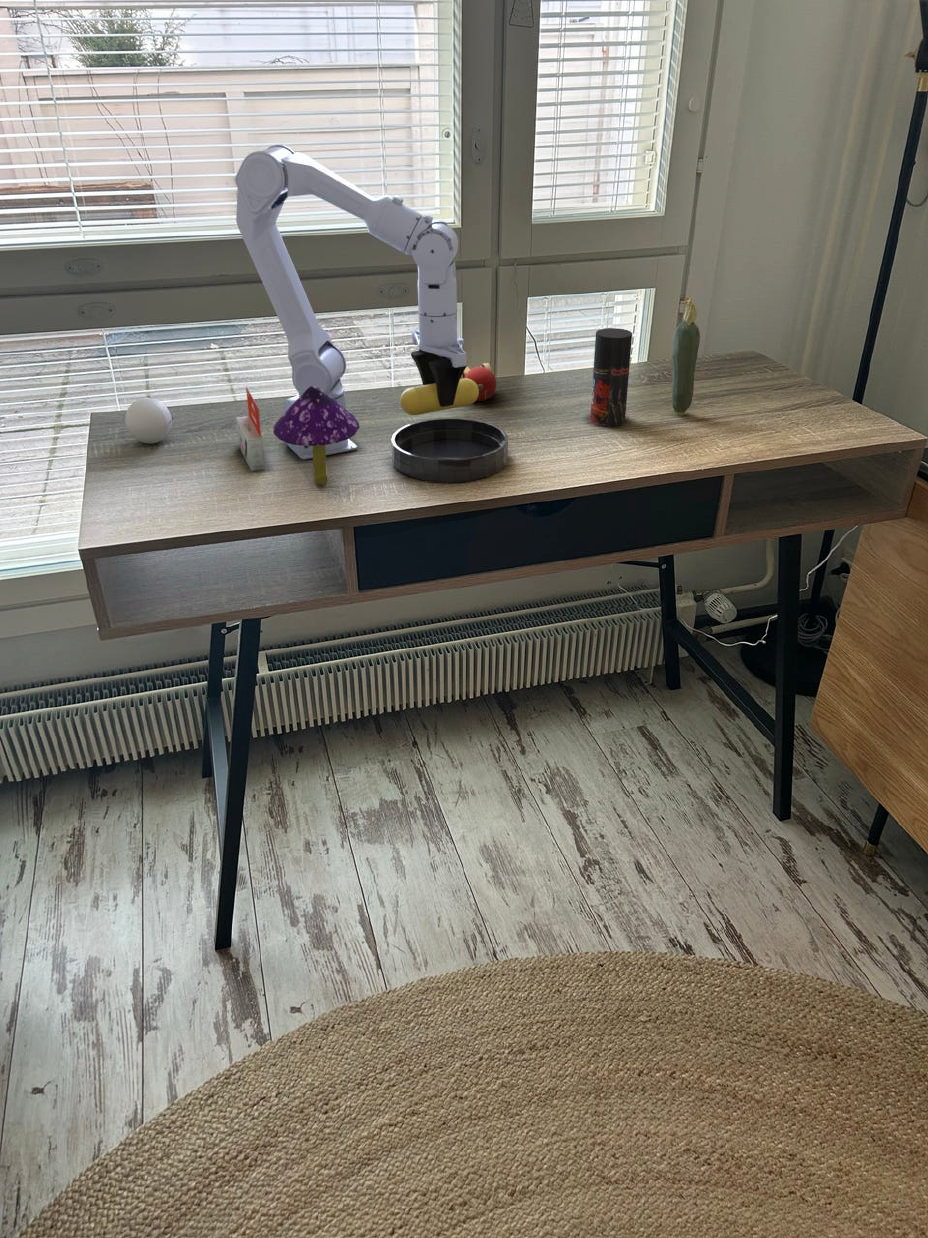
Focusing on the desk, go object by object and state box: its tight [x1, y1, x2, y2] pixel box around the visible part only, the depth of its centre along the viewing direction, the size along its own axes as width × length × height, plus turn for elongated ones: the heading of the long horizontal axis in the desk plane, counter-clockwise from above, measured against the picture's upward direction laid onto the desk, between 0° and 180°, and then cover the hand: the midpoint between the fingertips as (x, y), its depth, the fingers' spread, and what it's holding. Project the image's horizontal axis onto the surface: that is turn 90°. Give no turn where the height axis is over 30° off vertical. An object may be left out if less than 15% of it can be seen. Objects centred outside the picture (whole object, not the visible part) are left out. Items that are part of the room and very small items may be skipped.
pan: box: [390, 417, 509, 484], centre depth 149 cm, size 18×18×4 cm
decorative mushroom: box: [272, 386, 361, 486], centre depth 139 cm, size 12×12×15 cm
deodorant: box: [589, 327, 633, 428], centre depth 161 cm, size 6×6×15 cm
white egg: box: [124, 397, 174, 445], centre depth 157 cm, size 10×7×7 cm
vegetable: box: [671, 296, 701, 416], centre depth 161 cm, size 4×4×20 cm
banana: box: [399, 378, 483, 416], centre depth 149 cm, size 14×4×4 cm, turn 118°
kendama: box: [460, 362, 497, 402], centre depth 178 cm, size 8×6×18 cm
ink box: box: [235, 387, 266, 472], centre depth 149 cm, size 2×11×10 cm, turn 21°
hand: (439, 400), depth 149 cm, fingers closed on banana, 4 cm apart
